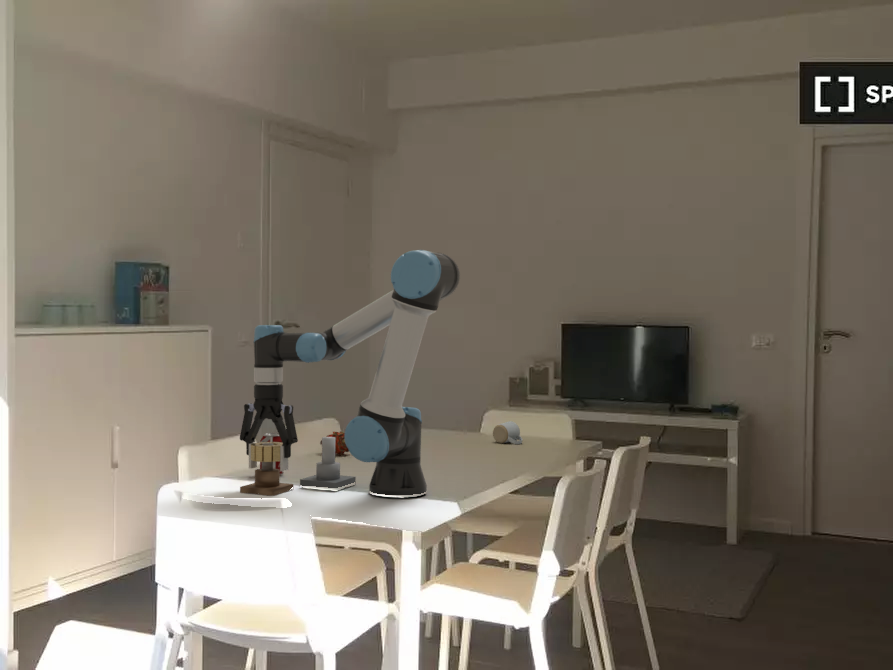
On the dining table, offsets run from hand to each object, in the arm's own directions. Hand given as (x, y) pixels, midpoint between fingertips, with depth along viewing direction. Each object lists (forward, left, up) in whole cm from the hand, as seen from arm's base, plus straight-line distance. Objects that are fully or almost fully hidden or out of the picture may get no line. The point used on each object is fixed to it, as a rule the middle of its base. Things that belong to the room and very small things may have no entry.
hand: (268, 468), depth 257 cm
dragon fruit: (+16, -66, -6) cm, 68 cm away
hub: (-11, -13, -6) cm, 18 cm away
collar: (0, 0, +3) cm, 3 cm away
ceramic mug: (-25, -124, -6) cm, 126 cm away
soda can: (+12, -21, -6) cm, 25 cm away
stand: (0, 0, -6) cm, 6 cm away
